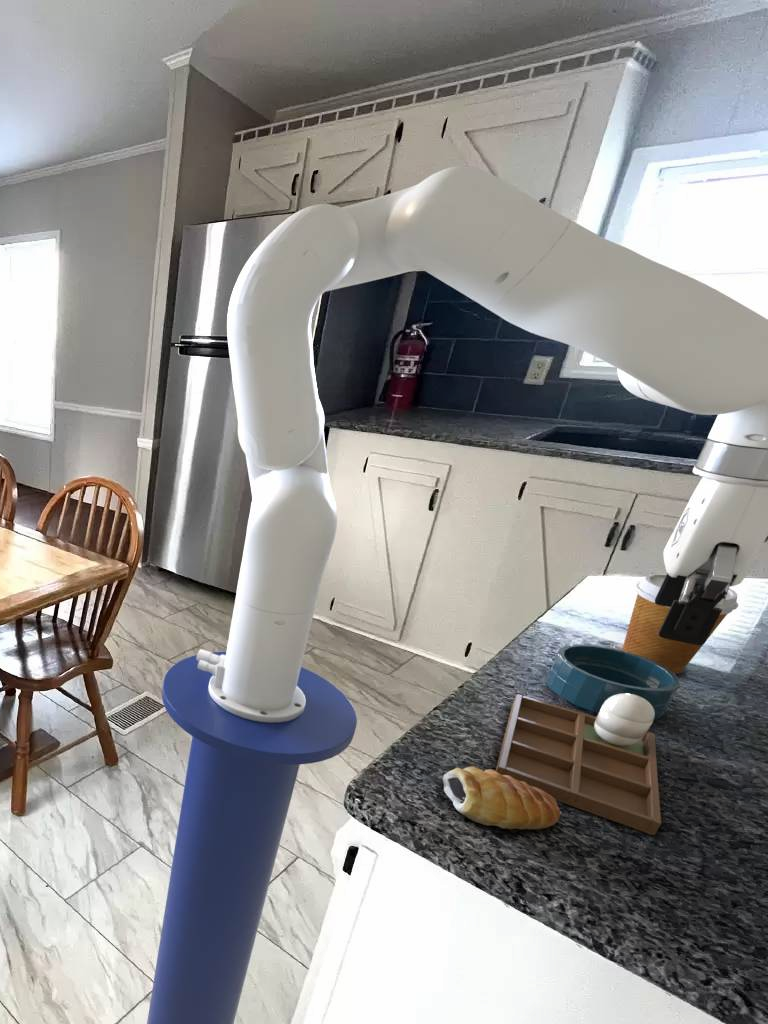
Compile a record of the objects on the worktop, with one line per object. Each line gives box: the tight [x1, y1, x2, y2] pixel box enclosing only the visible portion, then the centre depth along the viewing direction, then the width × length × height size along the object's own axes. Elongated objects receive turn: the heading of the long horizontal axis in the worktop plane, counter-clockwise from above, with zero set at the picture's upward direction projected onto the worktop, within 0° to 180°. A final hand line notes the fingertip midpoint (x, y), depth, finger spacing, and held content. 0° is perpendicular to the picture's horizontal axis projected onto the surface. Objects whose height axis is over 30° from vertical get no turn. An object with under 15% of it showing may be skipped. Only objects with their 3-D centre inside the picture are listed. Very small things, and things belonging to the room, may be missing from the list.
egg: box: [594, 693, 655, 746], centre depth 72 cm, size 4×4×6 cm
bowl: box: [545, 643, 681, 720], centre depth 81 cm, size 11×11×5 cm
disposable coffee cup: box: [621, 573, 739, 675], centre depth 87 cm, size 10×10×12 cm
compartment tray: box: [495, 693, 662, 836], centre depth 71 cm, size 13×19×2 cm
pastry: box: [442, 765, 561, 831], centre depth 65 cm, size 9×7×4 cm
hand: (676, 622), depth 67 cm, fingers open, 9 cm apart
